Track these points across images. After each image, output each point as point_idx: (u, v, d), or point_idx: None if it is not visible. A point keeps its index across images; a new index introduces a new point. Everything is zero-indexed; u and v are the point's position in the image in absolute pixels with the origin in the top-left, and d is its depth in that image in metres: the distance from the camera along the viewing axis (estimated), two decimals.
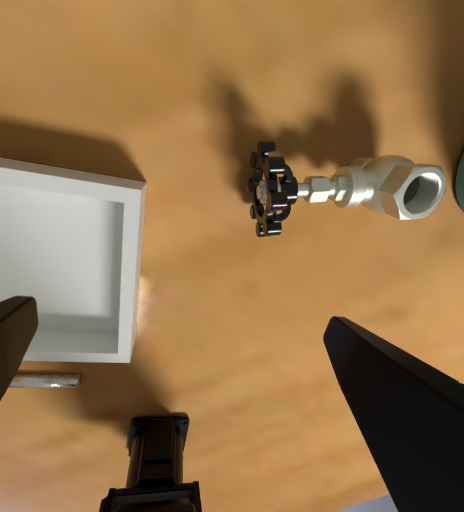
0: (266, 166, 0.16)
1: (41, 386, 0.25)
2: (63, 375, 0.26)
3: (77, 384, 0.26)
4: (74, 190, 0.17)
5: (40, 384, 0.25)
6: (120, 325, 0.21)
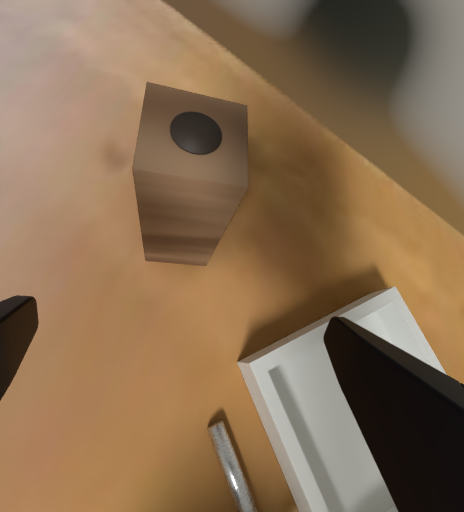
0: None
1: (229, 488, 0.18)
2: None
3: None
4: None
5: (230, 488, 0.18)
6: None
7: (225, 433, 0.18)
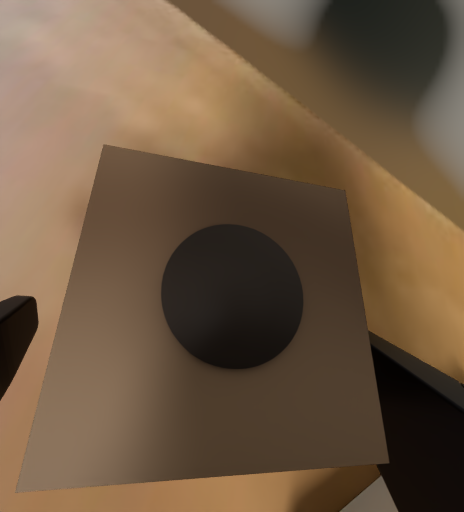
0: None
1: None
2: None
3: None
4: None
5: None
6: None
7: None
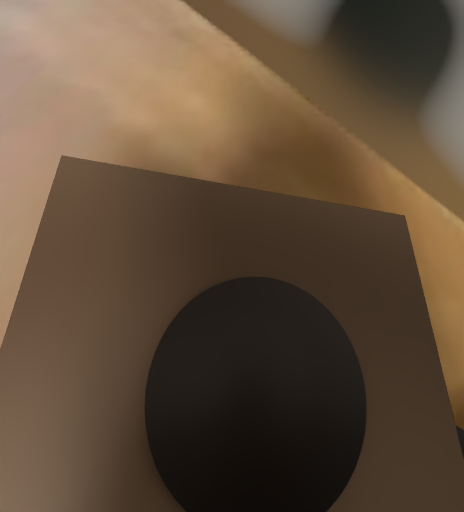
0: None
1: None
2: None
3: None
4: None
5: None
6: None
7: None
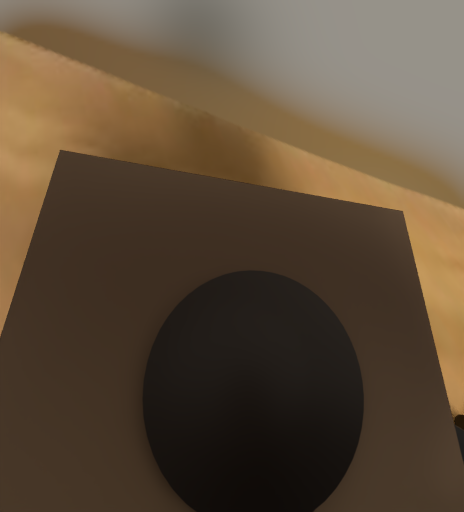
0: None
1: None
2: None
3: None
4: None
5: None
6: None
7: None
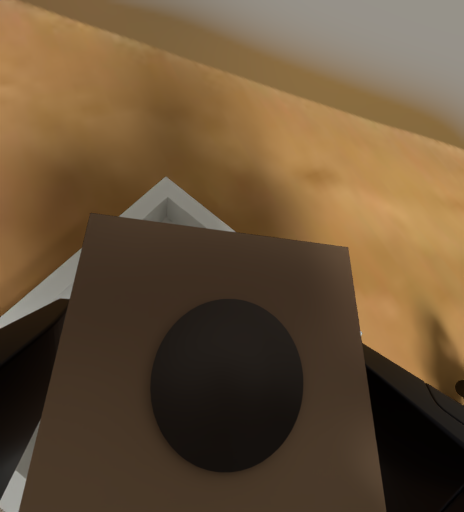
0: None
1: None
2: None
3: None
4: None
5: None
6: None
7: None
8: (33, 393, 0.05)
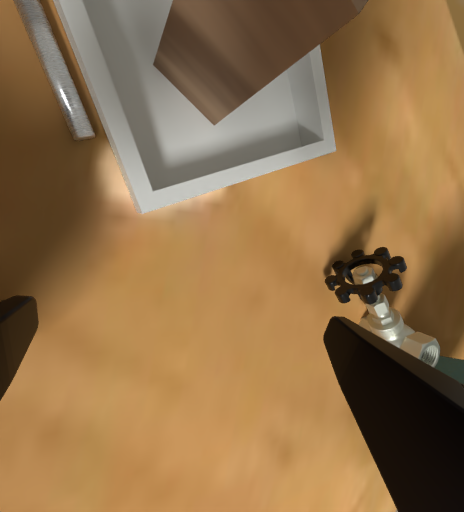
0: (395, 260, 0.22)
1: None
2: (70, 110, 0.15)
3: (77, 140, 0.16)
4: (320, 95, 0.19)
5: None
6: (200, 179, 0.16)
7: (31, 5, 0.13)
8: None
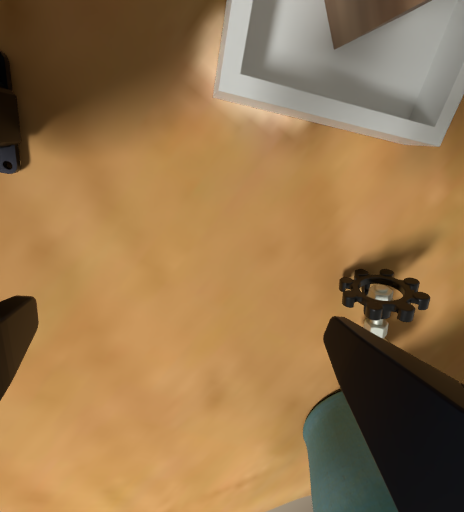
0: (421, 295, 0.20)
1: None
2: None
3: None
4: (462, 74, 0.16)
5: None
6: (291, 90, 0.15)
7: None
8: None
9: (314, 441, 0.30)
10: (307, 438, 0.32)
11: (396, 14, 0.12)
